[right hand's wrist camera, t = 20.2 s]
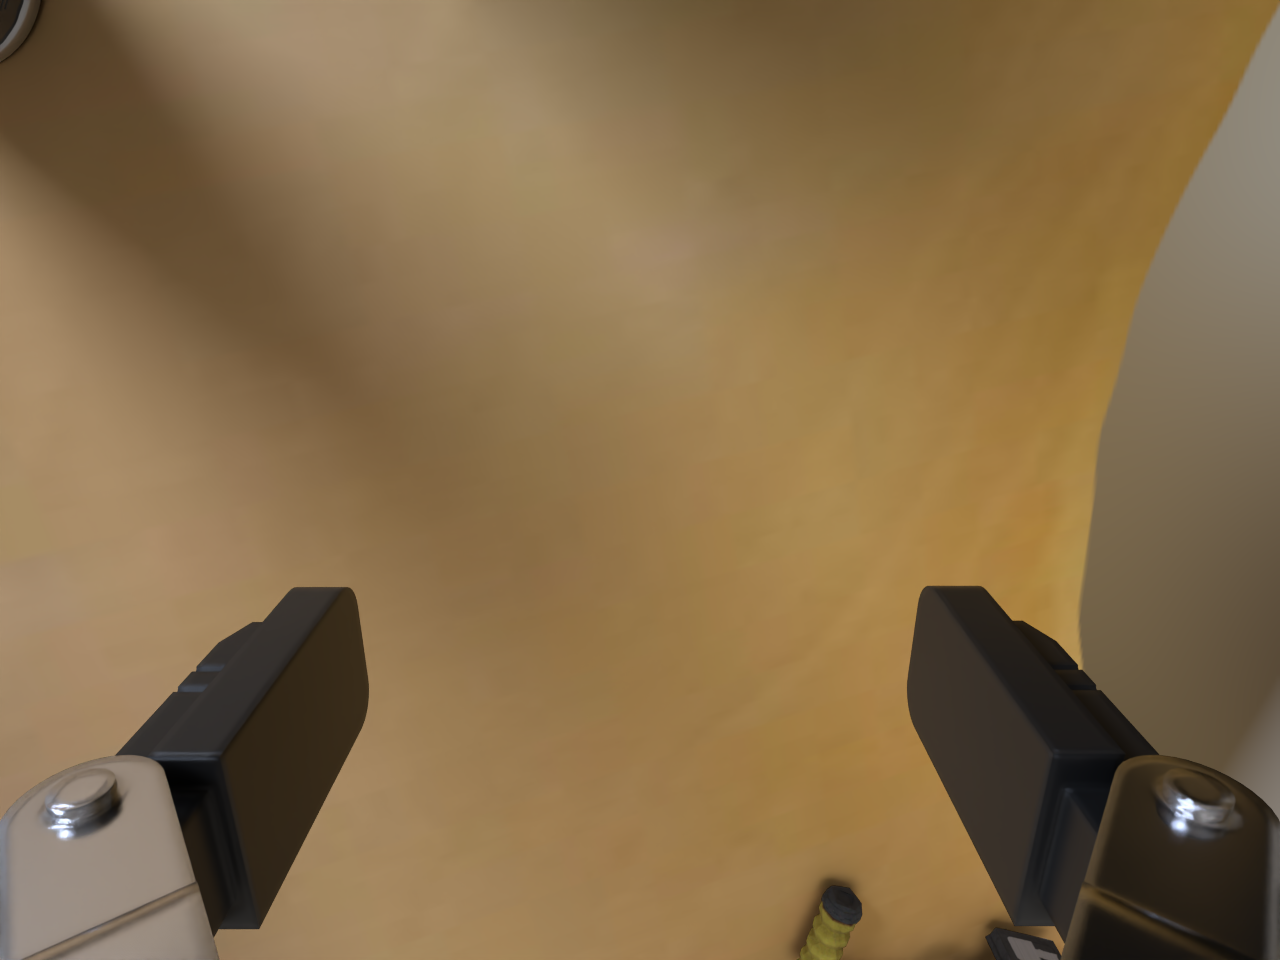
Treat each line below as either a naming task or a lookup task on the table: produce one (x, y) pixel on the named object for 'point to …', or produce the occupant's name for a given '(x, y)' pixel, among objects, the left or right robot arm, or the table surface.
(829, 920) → the toy gun
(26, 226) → the table surface
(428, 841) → the table surface
